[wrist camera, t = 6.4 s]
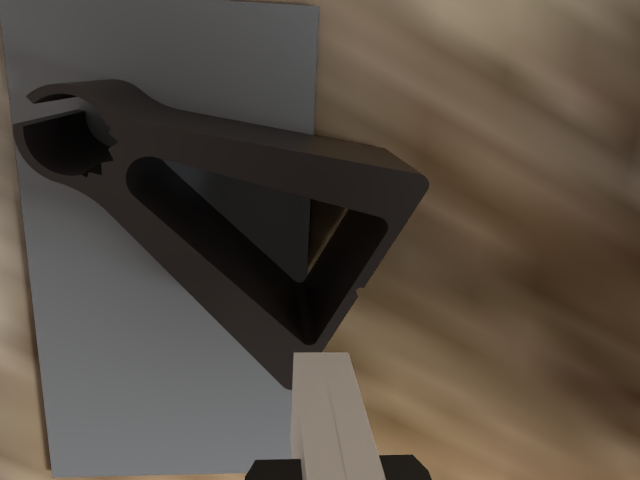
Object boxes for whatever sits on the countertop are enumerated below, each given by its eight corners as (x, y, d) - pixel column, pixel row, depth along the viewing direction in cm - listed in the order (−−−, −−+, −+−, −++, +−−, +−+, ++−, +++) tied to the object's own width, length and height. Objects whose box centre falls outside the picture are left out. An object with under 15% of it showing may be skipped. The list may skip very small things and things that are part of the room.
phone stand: (393, 152, 24) (133, -7, 21) (433, 181, 18) (82, -33, 15) (288, 320, 26) (37, 194, 23) (294, 393, 20) (-39, 238, 17)
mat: (318, 7, 22) (319, 6, 22) (297, 466, 29) (298, 471, 28) (1, -13, 21) (-4, -15, 20) (55, 471, 27) (52, 477, 27)
